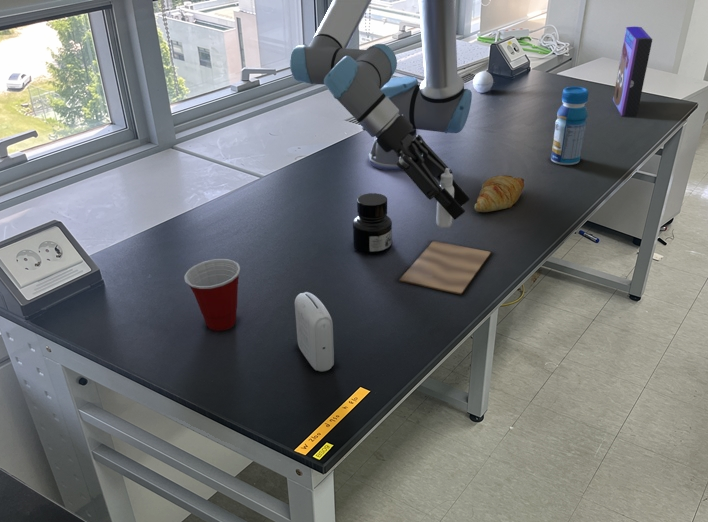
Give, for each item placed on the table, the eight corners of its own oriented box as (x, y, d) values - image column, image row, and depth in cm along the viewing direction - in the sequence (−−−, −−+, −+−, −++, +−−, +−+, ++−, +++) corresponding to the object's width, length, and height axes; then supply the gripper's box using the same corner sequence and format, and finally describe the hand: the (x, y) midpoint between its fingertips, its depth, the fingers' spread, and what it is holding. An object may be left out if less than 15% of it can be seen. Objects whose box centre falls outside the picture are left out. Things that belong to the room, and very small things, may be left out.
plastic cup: (195, 311, 149) (185, 259, 142) (247, 307, 150) (241, 255, 143) (190, 340, 140) (180, 287, 133) (246, 336, 141) (239, 282, 134)
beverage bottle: (573, 168, 204) (585, 95, 192) (545, 162, 208) (554, 91, 197) (584, 158, 209) (597, 87, 198) (557, 153, 214) (567, 83, 202)
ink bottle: (378, 260, 164) (378, 211, 157) (345, 251, 168) (344, 203, 161) (399, 242, 171) (399, 195, 164) (366, 234, 175) (366, 187, 168)
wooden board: (433, 242, 170) (433, 240, 170) (490, 253, 165) (491, 251, 165) (399, 281, 156) (399, 279, 156) (461, 294, 151) (461, 293, 150)
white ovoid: (468, 93, 265) (470, 72, 261) (477, 88, 270) (478, 68, 265) (494, 97, 260) (495, 76, 256) (502, 92, 265) (504, 71, 261)
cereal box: (612, 100, 252) (626, 26, 238) (627, 100, 252) (641, 26, 238) (621, 116, 238) (636, 38, 224) (636, 116, 238) (652, 38, 224)
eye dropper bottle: (459, 220, 155) (463, 166, 148) (446, 230, 152) (450, 175, 145) (441, 215, 158) (444, 162, 151) (428, 225, 154) (431, 171, 147)
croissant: (484, 230, 182) (500, 208, 175) (456, 204, 184) (470, 181, 177) (527, 201, 194) (543, 179, 188) (500, 177, 196) (514, 154, 190)
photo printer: (337, 368, 131) (335, 310, 124) (315, 374, 130) (312, 316, 123) (315, 339, 139) (312, 283, 132) (295, 345, 138) (290, 289, 130)
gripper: (385, 123, 156) (456, 201, 161) (362, 153, 141) (440, 238, 147) (410, 99, 151) (482, 181, 157) (388, 128, 137) (469, 217, 142)
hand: (462, 208), depth 152 cm, fingers closed on eye dropper bottle, 6 cm apart
